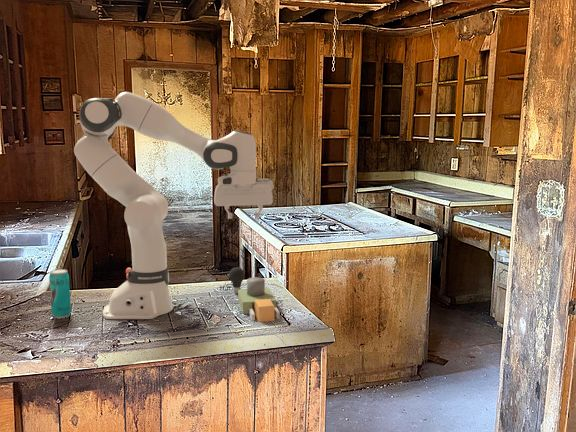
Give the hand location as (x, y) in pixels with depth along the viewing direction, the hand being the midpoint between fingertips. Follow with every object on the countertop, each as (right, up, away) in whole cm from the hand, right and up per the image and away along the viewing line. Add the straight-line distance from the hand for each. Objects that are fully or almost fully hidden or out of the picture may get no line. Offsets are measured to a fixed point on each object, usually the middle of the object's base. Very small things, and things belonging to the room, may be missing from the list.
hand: (243, 218), depth 186 cm
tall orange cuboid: (+8, -32, -14) cm, 36 cm away
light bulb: (-3, -28, +10) cm, 30 cm away
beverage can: (-57, -32, -14) cm, 67 cm away
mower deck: (+5, -31, -6) cm, 32 cm away
